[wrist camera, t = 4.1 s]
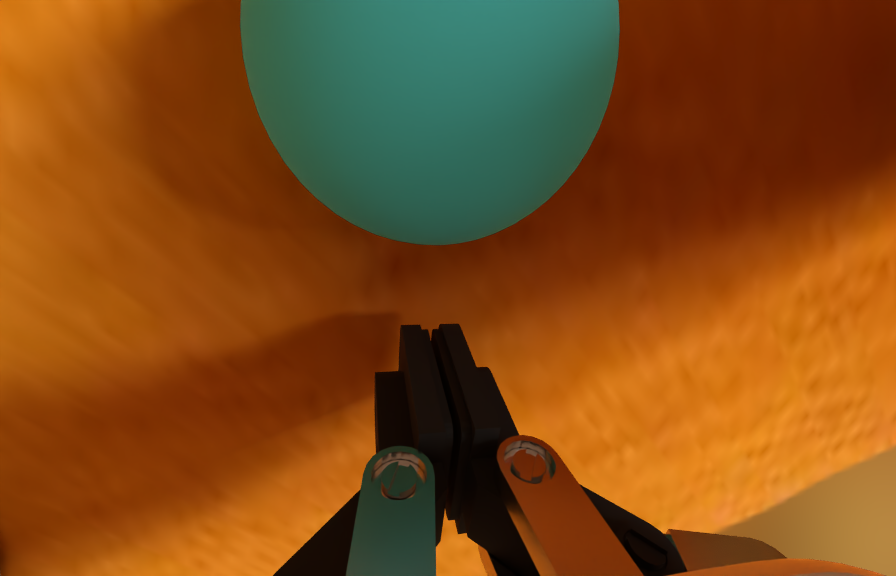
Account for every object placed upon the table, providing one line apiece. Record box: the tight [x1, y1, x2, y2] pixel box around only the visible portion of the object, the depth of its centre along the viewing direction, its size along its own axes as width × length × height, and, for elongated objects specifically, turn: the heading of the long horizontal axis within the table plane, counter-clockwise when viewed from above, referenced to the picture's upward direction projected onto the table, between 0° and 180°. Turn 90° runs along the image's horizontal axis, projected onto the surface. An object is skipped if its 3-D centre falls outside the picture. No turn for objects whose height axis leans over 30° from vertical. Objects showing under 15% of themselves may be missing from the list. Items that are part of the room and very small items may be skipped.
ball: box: [240, 0, 620, 245], centre depth 7 cm, size 6×6×6 cm
